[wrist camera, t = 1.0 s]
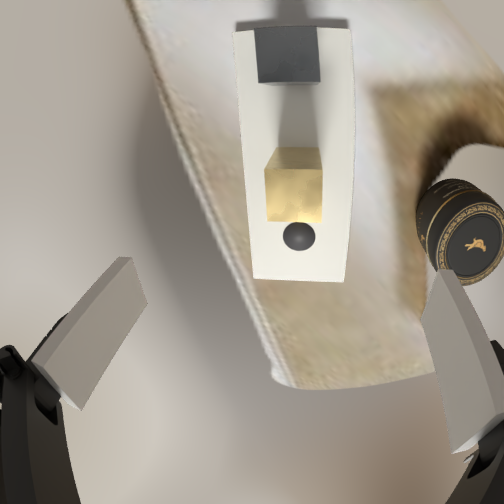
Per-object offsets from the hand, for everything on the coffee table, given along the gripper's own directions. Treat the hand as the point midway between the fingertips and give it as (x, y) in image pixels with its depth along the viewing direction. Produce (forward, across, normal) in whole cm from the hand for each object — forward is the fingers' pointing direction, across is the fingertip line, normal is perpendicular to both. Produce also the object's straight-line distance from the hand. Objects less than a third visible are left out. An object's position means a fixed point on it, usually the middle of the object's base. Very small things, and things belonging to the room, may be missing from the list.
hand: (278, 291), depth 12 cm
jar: (+21, +18, -5) cm, 28 cm away
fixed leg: (+19, 0, +10) cm, 22 cm away
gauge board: (+20, 0, 0) cm, 20 cm away
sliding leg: (+18, 0, 0) cm, 18 cm away
